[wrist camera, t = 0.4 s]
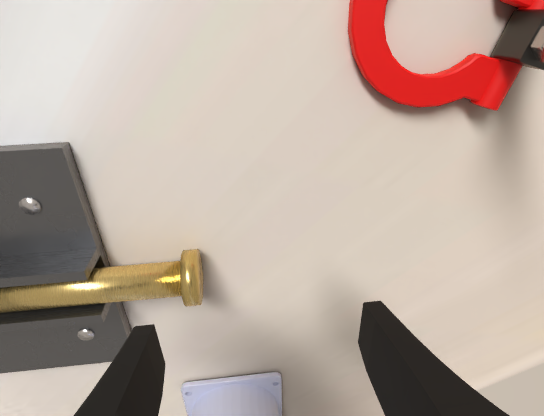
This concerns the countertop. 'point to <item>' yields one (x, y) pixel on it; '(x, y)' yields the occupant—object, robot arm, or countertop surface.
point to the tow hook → (458, 79)
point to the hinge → (51, 262)
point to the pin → (114, 286)
